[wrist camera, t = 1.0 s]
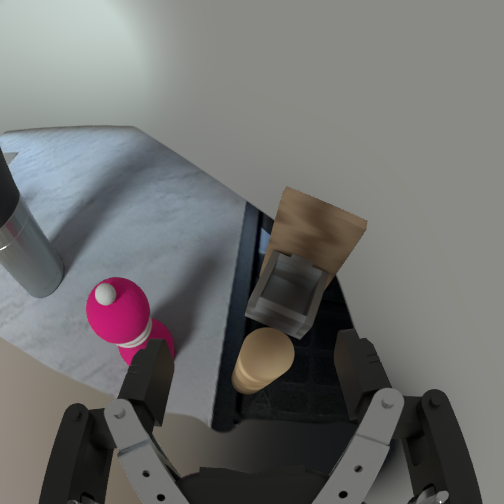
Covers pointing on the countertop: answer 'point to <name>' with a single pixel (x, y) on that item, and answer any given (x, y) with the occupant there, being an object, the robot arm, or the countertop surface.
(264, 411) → the countertop surface
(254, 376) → the oak post
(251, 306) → the cup bracket
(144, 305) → the pepper mill
